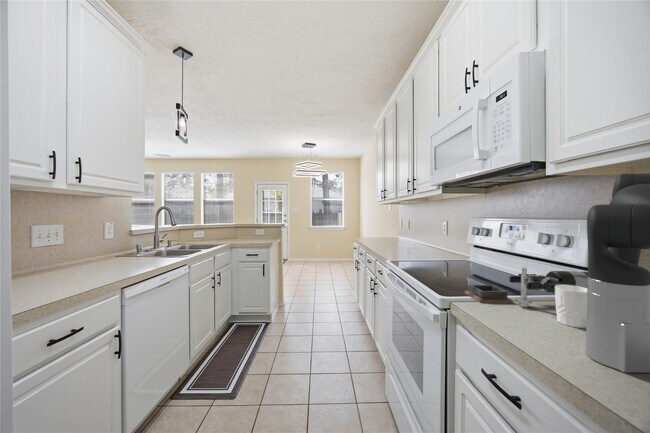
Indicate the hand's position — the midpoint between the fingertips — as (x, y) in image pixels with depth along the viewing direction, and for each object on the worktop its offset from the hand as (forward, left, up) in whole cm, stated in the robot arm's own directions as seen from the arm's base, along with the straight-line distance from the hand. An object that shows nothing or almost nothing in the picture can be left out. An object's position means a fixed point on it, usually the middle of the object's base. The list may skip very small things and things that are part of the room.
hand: (518, 282), depth 94 cm
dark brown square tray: (+9, +5, -8) cm, 13 cm away
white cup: (-14, -6, -8) cm, 17 cm away
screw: (0, -2, -8) cm, 8 cm away
